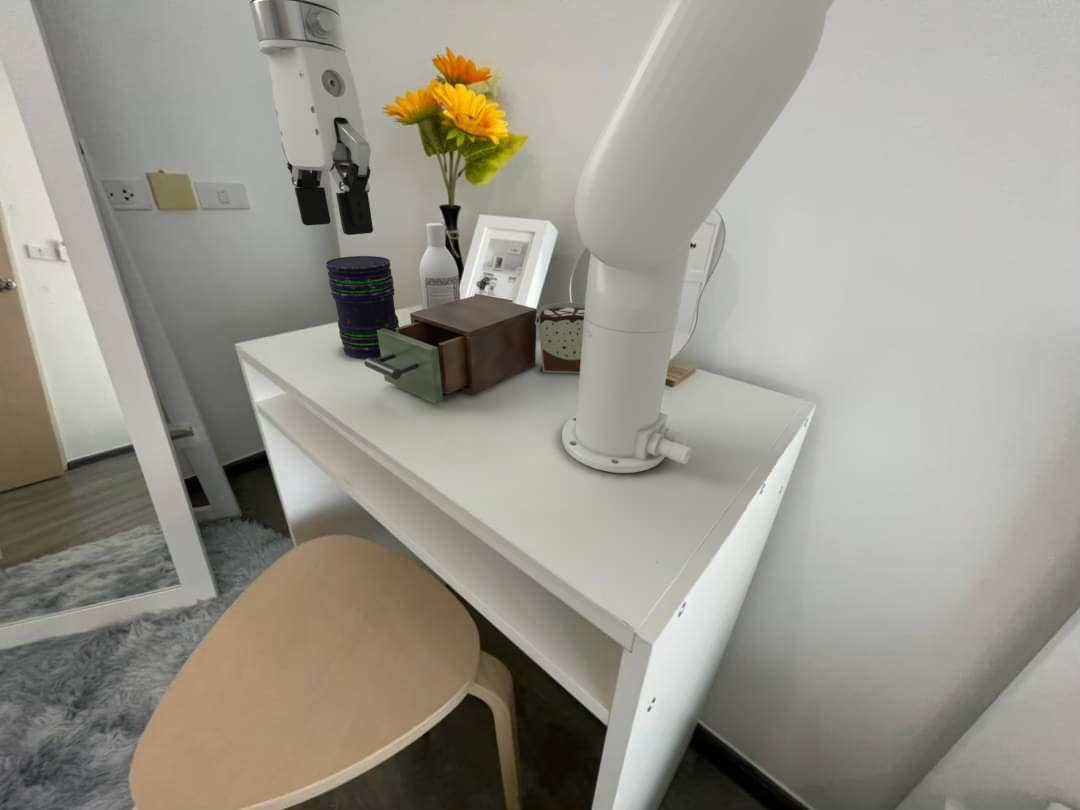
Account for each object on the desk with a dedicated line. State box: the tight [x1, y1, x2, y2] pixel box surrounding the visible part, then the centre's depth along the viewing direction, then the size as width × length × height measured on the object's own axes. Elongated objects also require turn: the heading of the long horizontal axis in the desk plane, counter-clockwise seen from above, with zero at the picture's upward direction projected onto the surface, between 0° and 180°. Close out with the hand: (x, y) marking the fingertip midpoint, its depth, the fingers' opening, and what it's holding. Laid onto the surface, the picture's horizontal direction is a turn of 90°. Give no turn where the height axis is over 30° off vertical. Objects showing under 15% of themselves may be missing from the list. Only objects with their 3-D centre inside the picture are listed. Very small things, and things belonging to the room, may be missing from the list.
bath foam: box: [418, 222, 461, 310], centre depth 80 cm, size 7×7×20 cm
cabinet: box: [409, 294, 538, 396], centre depth 69 cm, size 15×13×10 cm
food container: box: [535, 302, 585, 375], centre depth 71 cm, size 12×6×10 cm, turn 88°
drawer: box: [364, 321, 469, 405], centre depth 63 cm, size 18×11×8 cm, turn 142°
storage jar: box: [325, 255, 400, 360], centre depth 74 cm, size 10×10×15 cm
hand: (336, 228), depth 50 cm, fingers open, 9 cm apart
